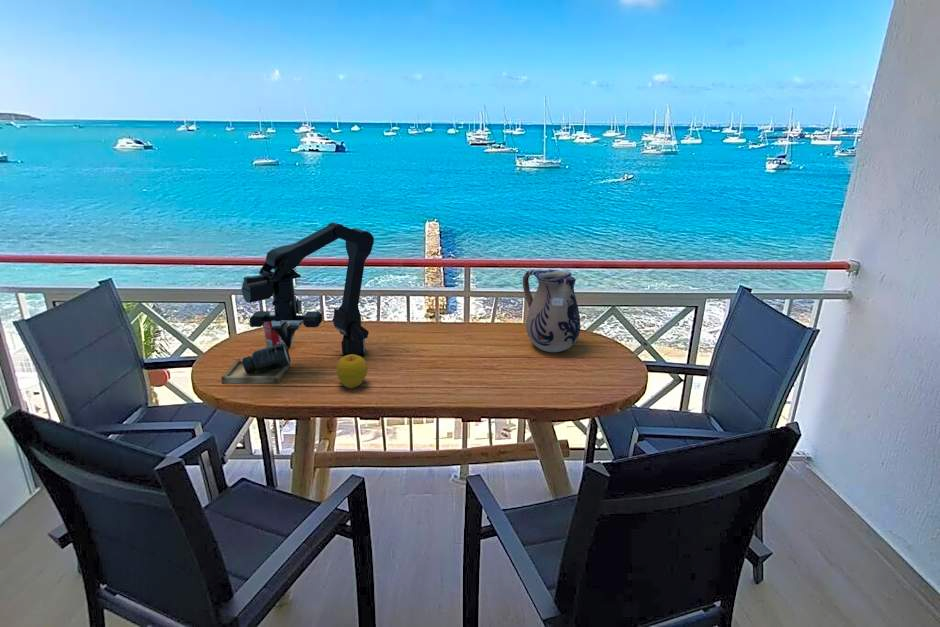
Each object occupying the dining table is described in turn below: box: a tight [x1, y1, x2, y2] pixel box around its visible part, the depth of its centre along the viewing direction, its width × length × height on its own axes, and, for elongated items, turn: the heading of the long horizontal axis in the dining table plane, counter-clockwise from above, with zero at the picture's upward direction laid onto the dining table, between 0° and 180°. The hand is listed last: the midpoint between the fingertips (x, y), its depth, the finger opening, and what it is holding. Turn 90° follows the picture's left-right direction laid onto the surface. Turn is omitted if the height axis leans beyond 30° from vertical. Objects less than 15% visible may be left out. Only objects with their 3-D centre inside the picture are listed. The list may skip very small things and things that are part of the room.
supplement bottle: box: [242, 343, 292, 374], centre depth 157 cm, size 7×7×12 cm
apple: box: [335, 354, 368, 389], centre depth 151 cm, size 8×8×9 cm
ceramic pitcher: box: [522, 268, 581, 353], centre depth 177 cm, size 18×21×25 cm
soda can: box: [263, 310, 289, 348], centre depth 173 cm, size 7×7×12 cm
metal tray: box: [220, 358, 291, 384], centre depth 158 cm, size 16×12×2 cm
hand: (289, 347), depth 155 cm, fingers closed
